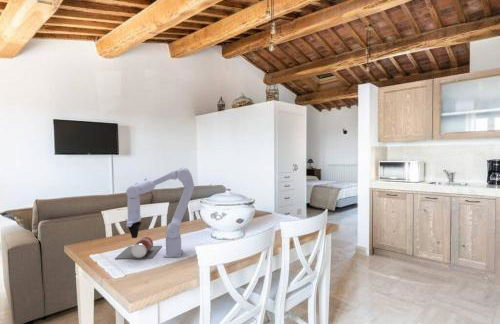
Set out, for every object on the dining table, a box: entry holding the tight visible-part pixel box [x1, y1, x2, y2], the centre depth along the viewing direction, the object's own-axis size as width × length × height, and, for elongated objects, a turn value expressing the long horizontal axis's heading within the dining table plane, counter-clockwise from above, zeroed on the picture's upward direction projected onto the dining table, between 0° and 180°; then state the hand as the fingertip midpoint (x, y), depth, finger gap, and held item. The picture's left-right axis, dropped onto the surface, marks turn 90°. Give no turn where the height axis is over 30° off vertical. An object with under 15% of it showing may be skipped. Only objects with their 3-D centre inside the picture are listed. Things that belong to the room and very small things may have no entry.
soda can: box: [131, 236, 154, 258], centre depth 147 cm, size 7×7×12 cm
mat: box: [114, 245, 163, 260], centre depth 151 cm, size 18×18×1 cm
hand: (134, 237), depth 143 cm, fingers closed
